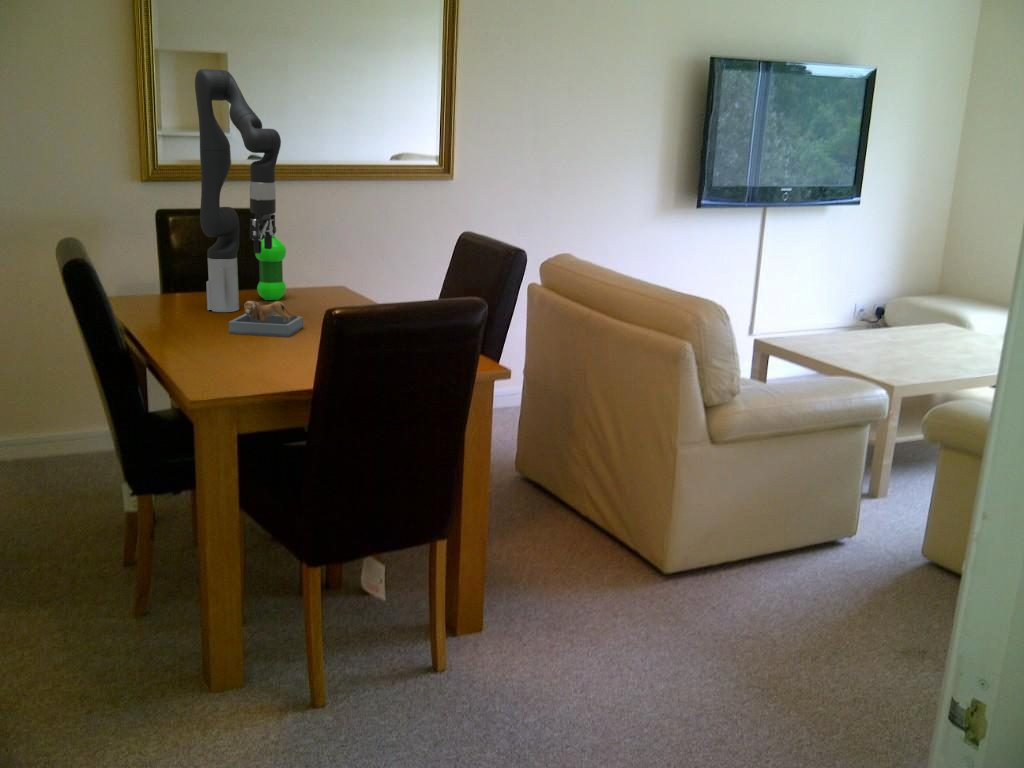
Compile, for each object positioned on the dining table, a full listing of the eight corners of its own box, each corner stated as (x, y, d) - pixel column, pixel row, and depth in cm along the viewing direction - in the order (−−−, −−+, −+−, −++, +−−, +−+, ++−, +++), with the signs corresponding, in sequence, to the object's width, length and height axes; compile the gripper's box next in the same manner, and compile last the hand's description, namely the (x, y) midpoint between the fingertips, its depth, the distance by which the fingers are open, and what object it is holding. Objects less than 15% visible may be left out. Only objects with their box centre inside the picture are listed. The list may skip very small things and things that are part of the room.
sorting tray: (229, 333, 306) (228, 322, 305) (246, 324, 319) (245, 313, 318) (288, 337, 304) (288, 325, 303) (303, 328, 317) (303, 316, 316)
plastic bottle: (253, 297, 362) (251, 225, 355) (283, 296, 366) (281, 224, 359) (259, 302, 353) (257, 229, 346) (290, 301, 357) (288, 228, 351)
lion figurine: (249, 333, 309) (239, 304, 307) (255, 329, 314) (244, 301, 312) (295, 320, 307) (285, 291, 305) (300, 316, 312) (290, 288, 310)
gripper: (259, 193, 317) (260, 246, 322) (241, 198, 304) (241, 253, 308) (283, 195, 316) (283, 248, 321) (265, 200, 303) (265, 255, 307)
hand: (262, 250), depth 314 cm, fingers open, 8 cm apart
